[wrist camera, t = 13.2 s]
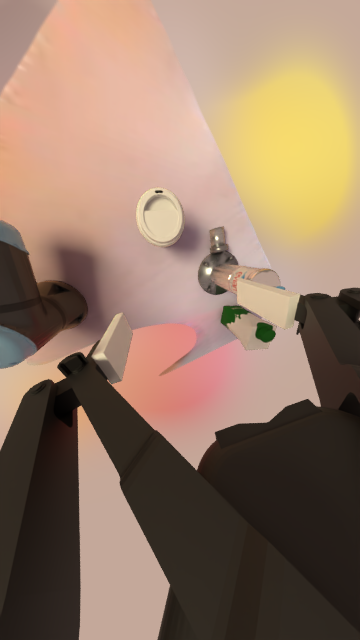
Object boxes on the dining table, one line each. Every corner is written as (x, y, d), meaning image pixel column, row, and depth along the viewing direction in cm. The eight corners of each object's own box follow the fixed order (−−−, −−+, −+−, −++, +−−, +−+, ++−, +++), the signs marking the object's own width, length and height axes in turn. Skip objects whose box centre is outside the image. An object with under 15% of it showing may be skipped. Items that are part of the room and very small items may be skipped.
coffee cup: (180, 218, 38) (194, 198, 24) (170, 254, 41) (177, 253, 28) (146, 202, 35) (140, 170, 22) (138, 242, 38) (130, 235, 25)
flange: (201, 298, 49) (205, 302, 44) (191, 235, 40) (196, 232, 35) (237, 288, 50) (245, 291, 45) (235, 224, 40) (246, 220, 36)
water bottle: (217, 258, 43) (284, 262, 21) (232, 270, 45) (306, 285, 23) (205, 277, 45) (253, 299, 23) (220, 288, 47) (277, 317, 25)
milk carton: (242, 303, 53) (286, 328, 35) (237, 323, 57) (274, 355, 39) (221, 303, 51) (256, 329, 34) (217, 324, 55) (247, 357, 38)
